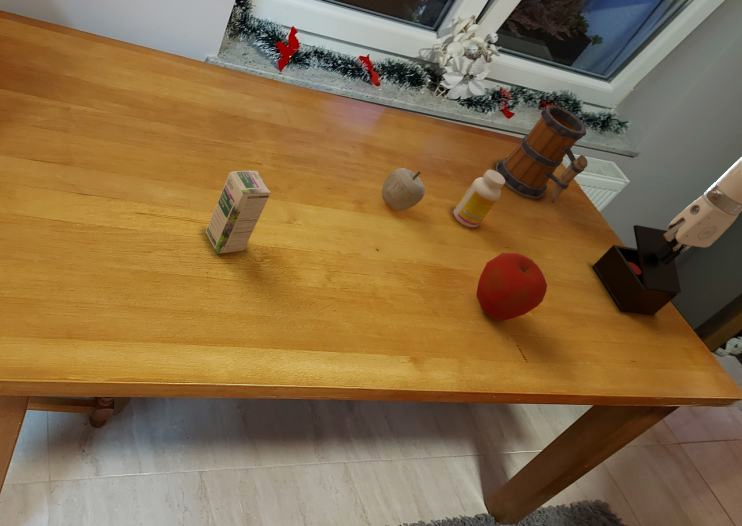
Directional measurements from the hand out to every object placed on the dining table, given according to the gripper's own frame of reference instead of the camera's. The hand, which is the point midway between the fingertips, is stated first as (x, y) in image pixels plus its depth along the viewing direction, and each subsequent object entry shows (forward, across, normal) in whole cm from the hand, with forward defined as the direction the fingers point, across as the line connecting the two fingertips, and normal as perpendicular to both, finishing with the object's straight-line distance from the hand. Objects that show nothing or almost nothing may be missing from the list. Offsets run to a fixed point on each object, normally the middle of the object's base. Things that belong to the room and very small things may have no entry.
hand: (661, 259), depth 152 cm
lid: (+1, 0, +1) cm, 1 cm away
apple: (+12, -44, -10) cm, 46 cm away
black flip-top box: (+12, 0, +1) cm, 12 cm away
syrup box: (+12, -98, 0) cm, 99 cm away
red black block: (+11, 0, +3) cm, 12 cm away
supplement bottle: (+12, -38, +18) cm, 44 cm away
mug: (+12, -11, +36) cm, 39 cm away
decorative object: (+12, -57, +18) cm, 61 cm away
